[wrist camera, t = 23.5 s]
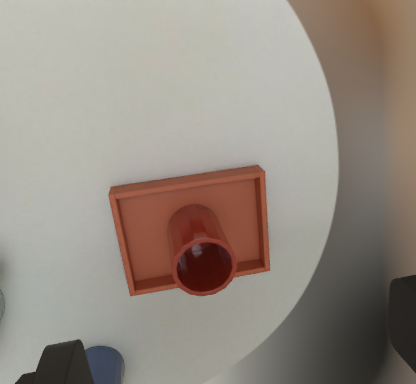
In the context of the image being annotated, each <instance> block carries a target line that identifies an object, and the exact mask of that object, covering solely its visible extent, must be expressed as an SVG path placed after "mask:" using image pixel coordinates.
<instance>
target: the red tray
mask: <svg viewBox="0 0 416 384" xmlns="http://www.w3.org/2000/svg"><path fill="white" fill-rule="evenodd" d="M109 199H110V204H111V209H112V213H113V218H114V223H115V227H116V232H117V237H118V241H119V246H120V251H121V255H122V260H123V265H124V269H125V274H126V278H127V283H128V288H129V292H130V296H135V295H141V294H146V293H152V292H157V291H163V290H168V289H173V288H179V287H178V285H177V284H176V282H175V281H174V280H173V275H172V269H171V261H170V253H169V244H168V236H167V226H168V222H169V220H170V218H171V216H172V215H173V214H174V213H175V212H176V211H177V210H178V209H180V208H182V207H184V206H187V205H192V204H198V205H203V206H206V207H208V208H210V209H211V210H212V211H213V212H214V213H215V214H216V216H217V217H218V219H219V221H220V223H221V225H222V227H223V229H224V231H225V234H226V236H227V238H228V240H229V242H230V244H231V246H232V248H233V251H234V253H235V255H236V259H237V270H236V272H235V275H234V277H239V276H244V275H250V274H255V273H260V272H265V271H270V260H269V241H268V222H267V203H266V184H265V171H264V170H263V169H262V168H260V167H259V166H258V165H256V166H249V167H243V168H236V169H229V170H222V171H216V172H209V173H202V174H195V175H189V176H182V177H175V178H168V179H162V180H155V181H148V182H141V183H135V184H128V185H121V186H115V187H111V188H110V192H109Z"/></svg>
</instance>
